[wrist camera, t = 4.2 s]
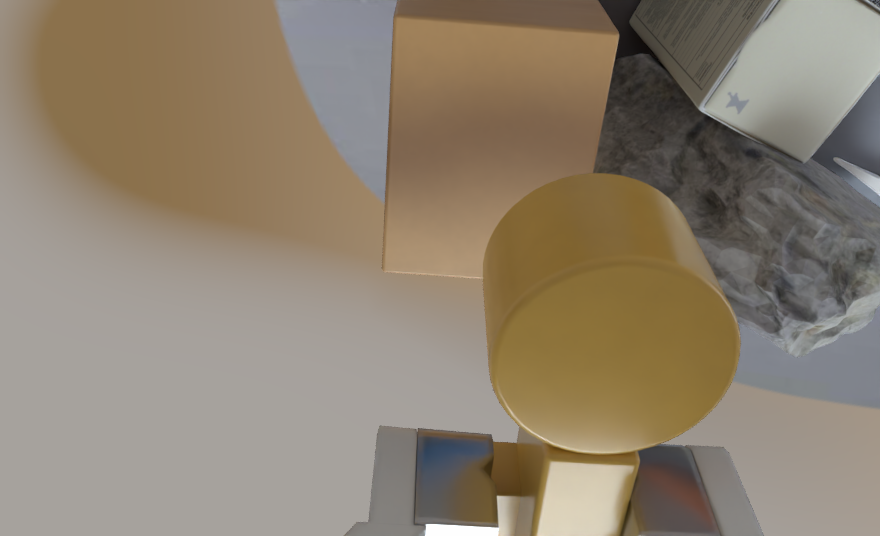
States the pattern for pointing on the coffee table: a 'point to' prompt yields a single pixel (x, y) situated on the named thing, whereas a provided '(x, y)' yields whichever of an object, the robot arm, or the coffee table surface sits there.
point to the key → (597, 347)
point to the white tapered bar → (861, 174)
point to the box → (768, 62)
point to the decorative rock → (749, 211)
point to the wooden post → (486, 119)
